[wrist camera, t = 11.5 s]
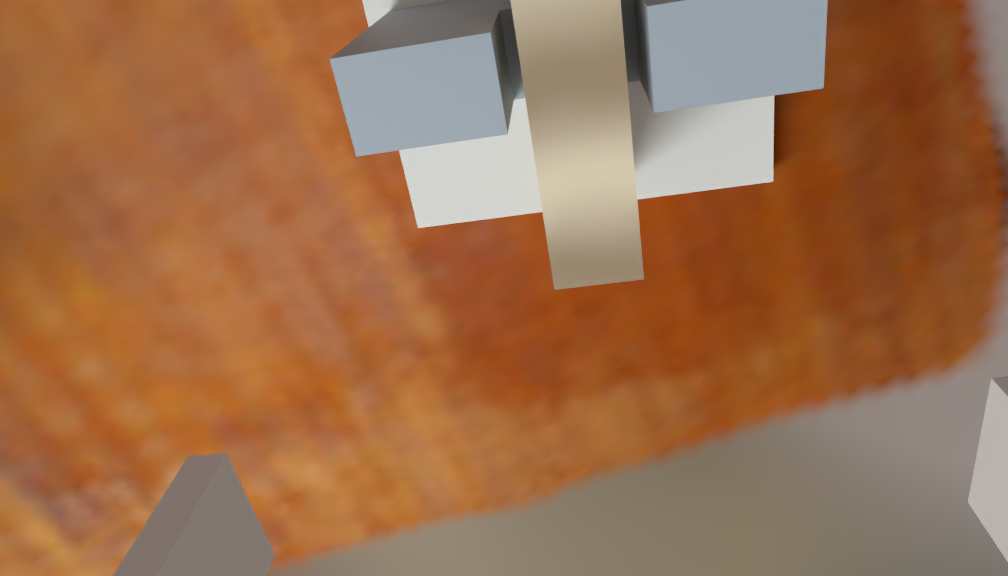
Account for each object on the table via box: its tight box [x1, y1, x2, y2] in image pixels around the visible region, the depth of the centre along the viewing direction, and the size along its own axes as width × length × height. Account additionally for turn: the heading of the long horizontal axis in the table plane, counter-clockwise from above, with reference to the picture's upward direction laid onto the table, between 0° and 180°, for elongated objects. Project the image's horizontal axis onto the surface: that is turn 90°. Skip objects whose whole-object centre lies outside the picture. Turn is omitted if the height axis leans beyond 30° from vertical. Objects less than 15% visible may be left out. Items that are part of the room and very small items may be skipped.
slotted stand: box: [330, 0, 828, 228], centre depth 25 cm, size 16×16×10 cm
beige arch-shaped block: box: [510, 0, 644, 290], centre depth 25 cm, size 14×3×9 cm, turn 10°
